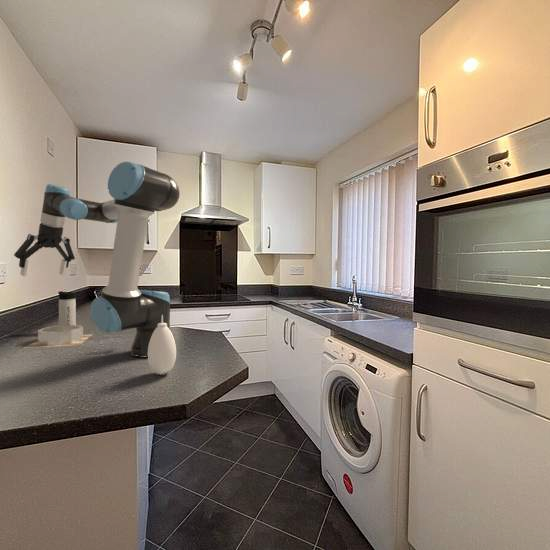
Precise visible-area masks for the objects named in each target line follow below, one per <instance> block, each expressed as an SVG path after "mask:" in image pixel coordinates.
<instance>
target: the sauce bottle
mask: <svg viewBox="0 0 550 550" xmlns="http://www.w3.org/2000/svg"><path fill="white" fill-rule="evenodd" d="M157 326H158V327H157V328H156V329H155V330H154V332H153V334H152V336H151V339H150V342H149V346H148V358H147V361H148V366H149V368H150V369H151V371H152V372H153V373H155V374H156V373H163V372H167V371H169V372H170V371H171V370H172V369H173V368H174V366H175V363H176V360H177V359H176V358H177V345H176V342H175V338H174V336H173V333H172V331H171V330H170V329H171V328H170V329H169V328H168V327H167V324H166V323H163V315H162V318H161V323H159V324H158V325H157Z"/></svg>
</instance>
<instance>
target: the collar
mask: <svg viewBox="0 0 550 550" xmlns="http://www.w3.org/2000/svg"><path fill="white" fill-rule="evenodd" d="M83 335H84V326H83V325H81V324H79V325H78V324H76V325H60V326H59V325H54V326H53V325H51V326H47V327H42V328H41V329H38V330H37V341H38V343H39V344H40V345H47V346H49V345H62V344H69V343H74V342H77V341H80V340H82V339H83Z"/></svg>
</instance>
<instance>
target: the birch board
mask: <svg viewBox="0 0 550 550" xmlns="http://www.w3.org/2000/svg"><path fill="white" fill-rule="evenodd" d="M93 335H94V333H93V334H83V339H82V340H80V341H77V342H74V343H69V344H62V345H49V346H47V345H40V344H39V343H38V340H37V341H35V342H32V343H30V344H28V345H26V346H24V347H23V349H32V348H51V347H66V346H68V347H69V346H70V347H71V346H80V345H81V344H83V343H84V342H85V341H87V340H88V339H89V338H90V337H92V336H93Z"/></svg>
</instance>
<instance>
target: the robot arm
mask: <svg viewBox="0 0 550 550" xmlns="http://www.w3.org/2000/svg"><path fill="white" fill-rule="evenodd" d="M177 183H178V182H176V181H175V179H174V178H172V177H171V176H170V175H168V174H166V173H164V172H161V171H157V170H155V169H152V168H149V167H147V166H145V165H142V164H139V163H134V162H131V161H122V162H120V163H118V164H117V165H115V167H114V168H113V169H112V171H111V172H110V174H109V176H108V180H107V190H108V194H109V195H110V196H111V198H113V199H110V200H108V201H105V202H104V201H103V202H97V201H92V200H88V199H82V198H77V197H73V196H70V194H71V193H70V189H69V188H66V187H64V186H60V185H56V184H51V183H49V184H46V186H45V190H44V193H43V203H42V210H41V214H40V223H39V226H38V233H37V235H34V234H32V233H28V234H27V237H26V239H25V241H23V243H22V244H21V246H19V248H18V249H17V250H16V251H15V252H14V254H13V256H14V257H15V258H16V259H19V263H18V267H19V268H20V273H19V274H20V275H21V276H23V277H27V272H28V266H29V260H28V259H29V258H30V257H31V256H33V254H35V253H36V252H38V251H39V250H40V249H43V248H51V249H56V250H57V251H58V253H59V254H60V256H62V259H61V263H60V267H59V268H60V269H59V271H58V273H59V275H61V276H63V277H65V275H66V269H68V267H69V264H70V262H72V260H75V259H76V258H75V255H74V252H73V250H72V246H71V240H70V238H69V237H66V236H64V237H62V236H63V231H64V226H65V221H66V218H68V219H70V220H74V221H80V220H86V221H87V220H88V221H93V222H94V221H95V222H101V223H106V224H116V228H115V234H114V235H115V237H114V242H113V249H112V256H111V263H110V268H109V269H110V272H109V279H108V284H107V285H106V286H104V287H103V288H102V289H101V295H100V296H98V297H95V298H94V299H93V300H92V302H91V305H90V317H91V319H92V322H93V323H94V325H95V326H96V329H98V330H99V331H100V332H102V333H105V334H111V333H119V332H123V331H128V330H131V329H136V330H135V331H136V332H135V335H134V338H133V341H132V343H131V347H130V355H131V354H133V355H138V356H148V346H149V342H150V339H151V336H152V334H153V332H154V330H155V329H156V328H157V327H158V326H157V325H158V324H159V323H161V318H162V315H163V323H166V324H167V327H168V328H169V329H171V328H170V327H171V326H170V324H171V323H170V322H171V321H170V320H171V315H170V314H171V300H170V299H171V298H170V294H169V293H168V292H167V291H157V290H145V289H143V290H142V289H139V288H138V285H139V279H140V272H141V268H142V260H143V254H144V248H145V241H146V235H147V230H148V228H147V227H148V221H149V217H151V216H152V215H154V214H155V212H162V211H167V210H169V209H171V208H173V207H174V206H176V204H177V203H178V201H179V199H180V188H179V185H178V184H177ZM36 240H37V241H36ZM34 241H35V243H34ZM60 243H63V246H64V248H65V250H66V252H65V250H64V249H63V247H62V246H61V245H60ZM32 244H33V245H32Z"/></svg>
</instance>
